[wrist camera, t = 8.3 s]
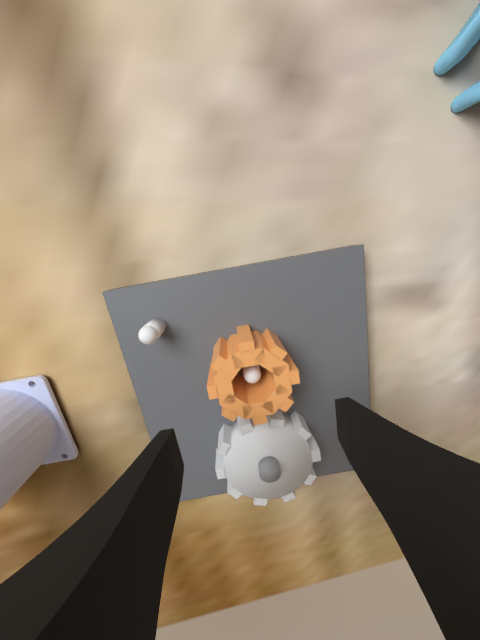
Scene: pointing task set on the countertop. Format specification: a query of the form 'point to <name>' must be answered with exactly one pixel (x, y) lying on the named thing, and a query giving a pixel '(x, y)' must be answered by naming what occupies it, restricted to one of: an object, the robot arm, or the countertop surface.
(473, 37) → the chair
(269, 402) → the orange gear
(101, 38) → the countertop surface
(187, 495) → the gear board
